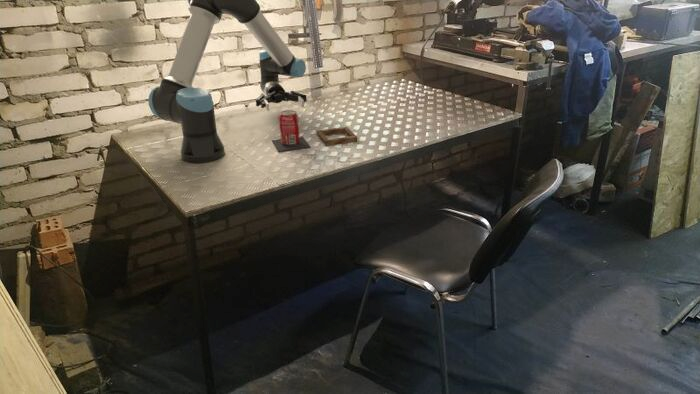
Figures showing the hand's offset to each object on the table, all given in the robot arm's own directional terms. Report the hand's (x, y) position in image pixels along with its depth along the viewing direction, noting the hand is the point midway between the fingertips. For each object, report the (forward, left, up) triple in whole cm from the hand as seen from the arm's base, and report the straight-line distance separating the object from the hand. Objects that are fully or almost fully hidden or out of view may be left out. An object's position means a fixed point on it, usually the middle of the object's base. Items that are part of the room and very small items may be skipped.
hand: (285, 105), depth 197 cm
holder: (+17, -10, -12) cm, 23 cm away
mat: (-1, -10, -12) cm, 16 cm away
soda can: (-1, -10, -12) cm, 16 cm away
